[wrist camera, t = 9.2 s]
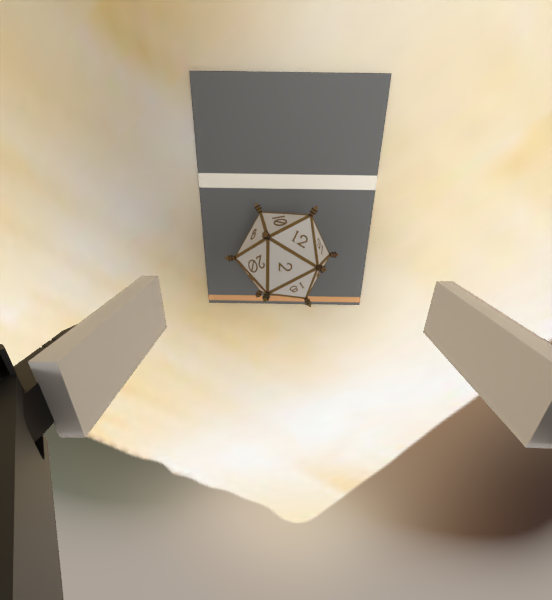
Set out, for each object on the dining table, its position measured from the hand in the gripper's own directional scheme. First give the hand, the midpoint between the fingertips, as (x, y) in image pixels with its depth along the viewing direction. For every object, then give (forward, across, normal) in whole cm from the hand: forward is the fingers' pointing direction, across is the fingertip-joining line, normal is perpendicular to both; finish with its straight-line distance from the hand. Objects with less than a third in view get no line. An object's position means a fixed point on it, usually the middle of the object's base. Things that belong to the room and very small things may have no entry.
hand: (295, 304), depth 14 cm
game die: (+15, 0, -1) cm, 15 cm away
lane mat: (+16, 0, +3) cm, 16 cm away
